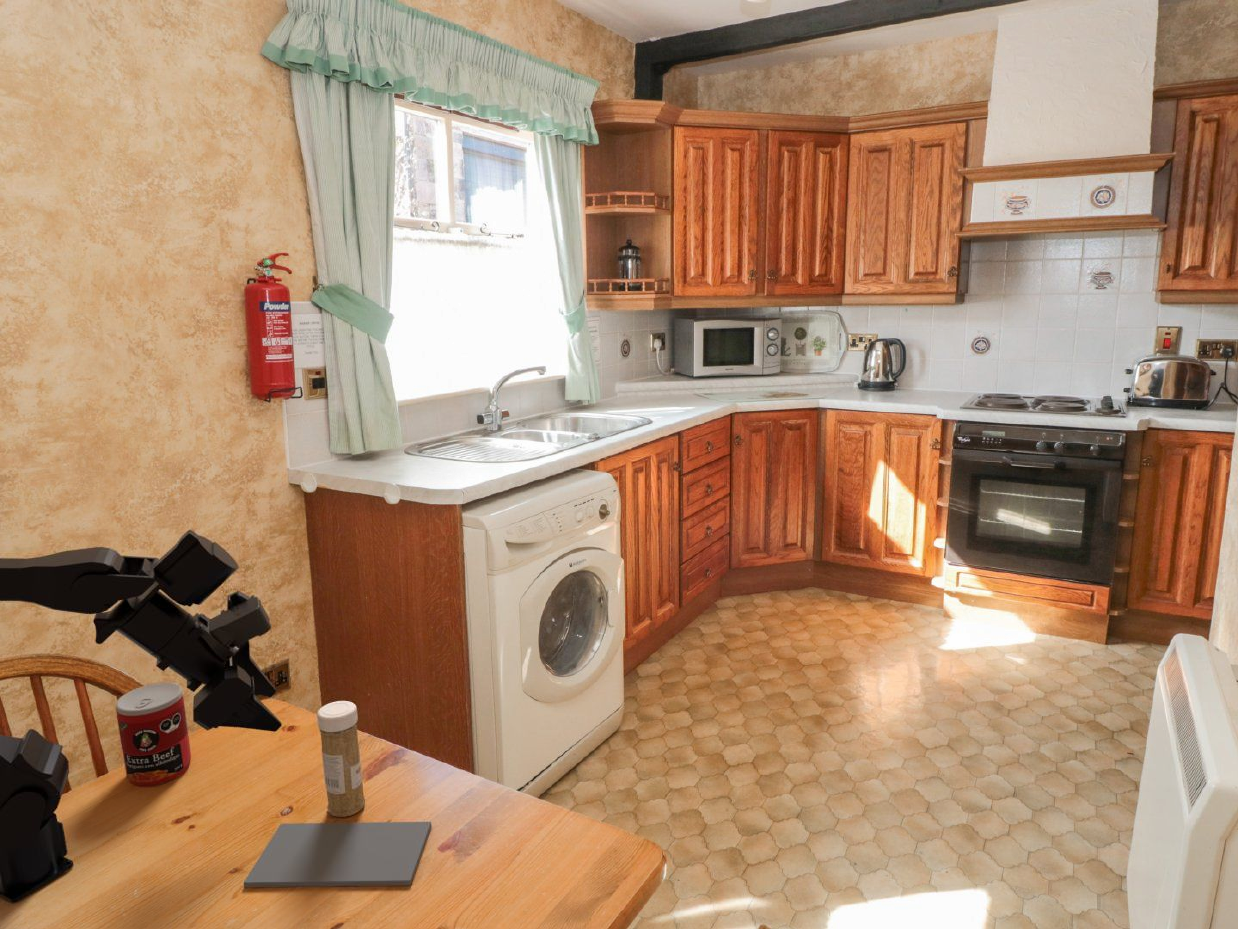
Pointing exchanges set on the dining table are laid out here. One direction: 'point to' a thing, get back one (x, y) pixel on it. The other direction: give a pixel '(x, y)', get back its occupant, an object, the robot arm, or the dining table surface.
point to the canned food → (153, 734)
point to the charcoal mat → (341, 855)
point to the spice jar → (341, 758)
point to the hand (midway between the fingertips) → (276, 710)
